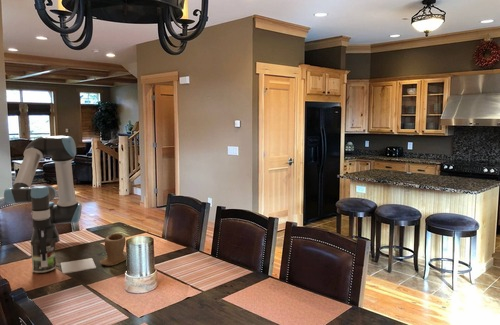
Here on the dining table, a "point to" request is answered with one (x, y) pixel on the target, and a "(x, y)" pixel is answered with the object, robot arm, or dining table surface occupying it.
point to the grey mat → (77, 265)
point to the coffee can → (37, 258)
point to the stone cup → (114, 249)
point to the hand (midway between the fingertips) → (44, 263)
